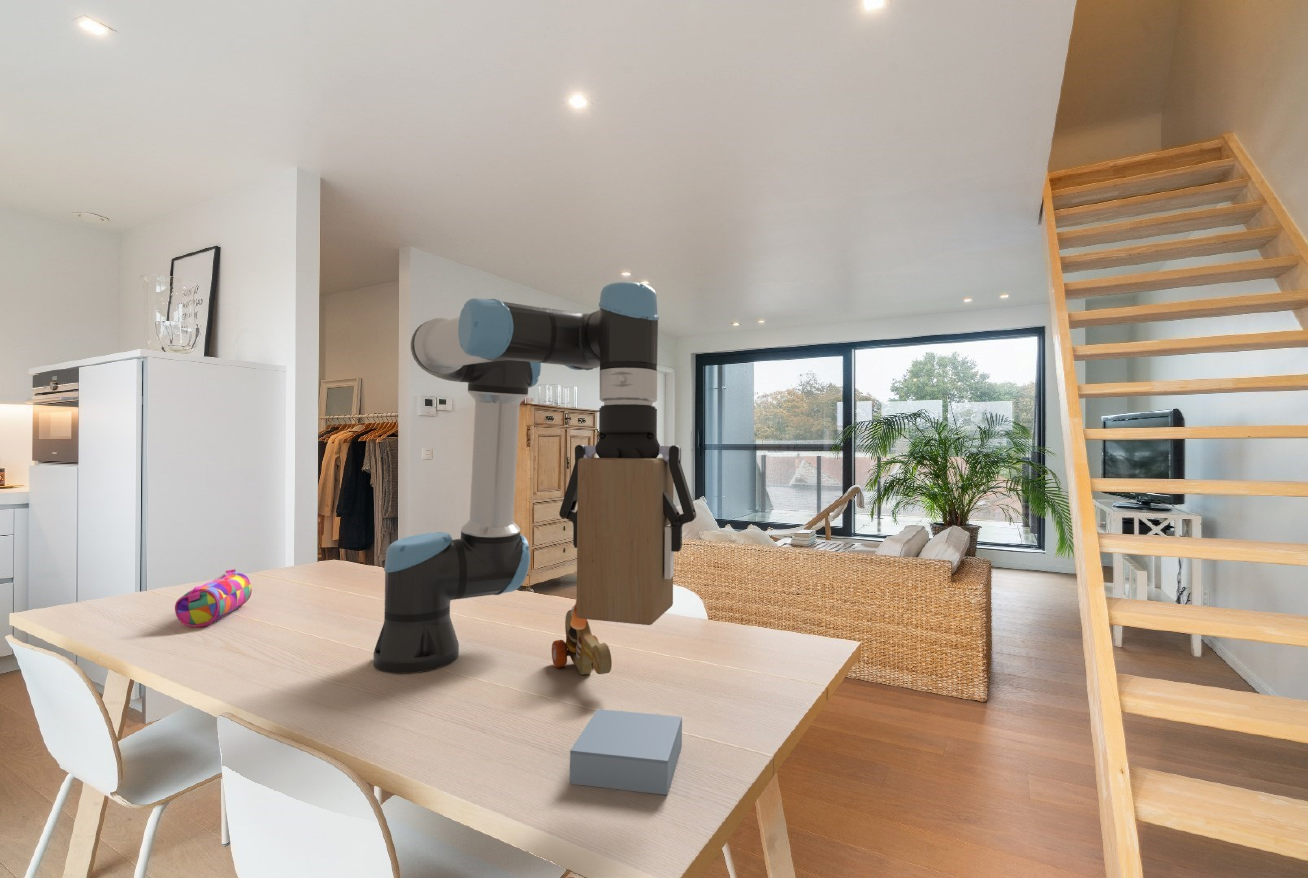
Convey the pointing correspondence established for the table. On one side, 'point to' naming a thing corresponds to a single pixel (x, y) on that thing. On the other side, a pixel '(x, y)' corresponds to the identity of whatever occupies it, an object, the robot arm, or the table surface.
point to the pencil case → (213, 599)
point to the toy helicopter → (581, 647)
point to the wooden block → (622, 539)
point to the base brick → (627, 751)
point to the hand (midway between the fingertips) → (626, 575)
